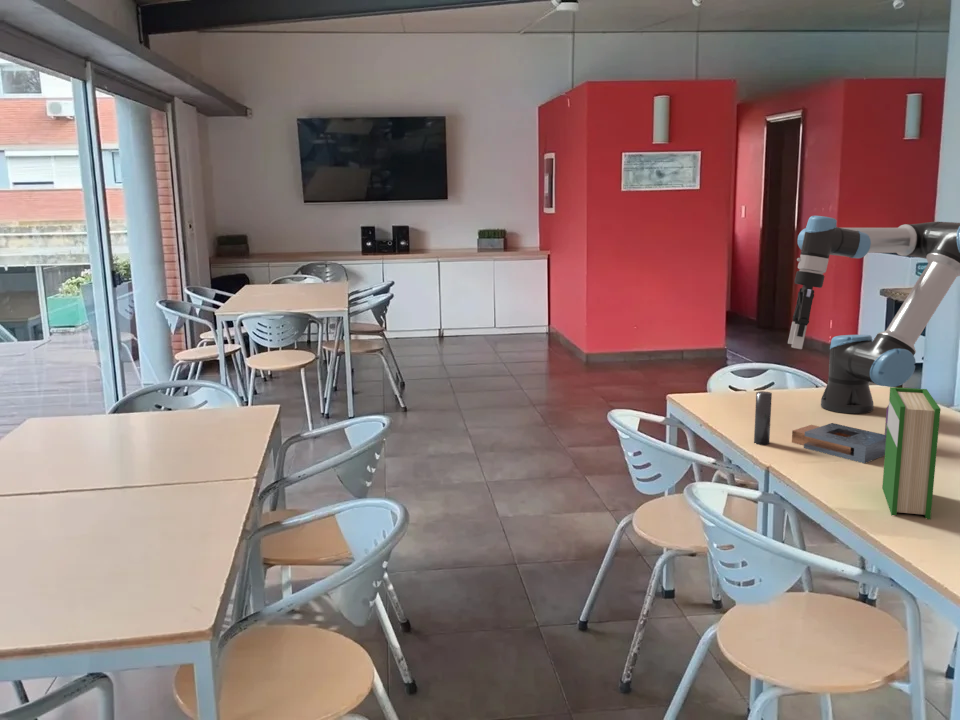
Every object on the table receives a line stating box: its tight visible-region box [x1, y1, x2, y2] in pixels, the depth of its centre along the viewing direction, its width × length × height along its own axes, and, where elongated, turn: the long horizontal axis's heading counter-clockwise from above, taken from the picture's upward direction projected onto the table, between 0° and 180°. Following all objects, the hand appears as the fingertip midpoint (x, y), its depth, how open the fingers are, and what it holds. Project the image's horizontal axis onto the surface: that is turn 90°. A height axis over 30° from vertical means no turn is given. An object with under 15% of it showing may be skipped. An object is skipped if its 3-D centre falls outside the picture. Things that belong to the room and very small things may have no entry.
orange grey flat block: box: [791, 422, 886, 464], centre depth 226 cm, size 22×13×4 cm, turn 37°
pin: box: [753, 390, 773, 446], centre depth 231 cm, size 4×4×14 cm
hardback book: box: [881, 387, 941, 520], centre depth 185 cm, size 18×7×24 cm, turn 161°
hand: (794, 346), depth 240 cm, fingers open, 13 cm apart
